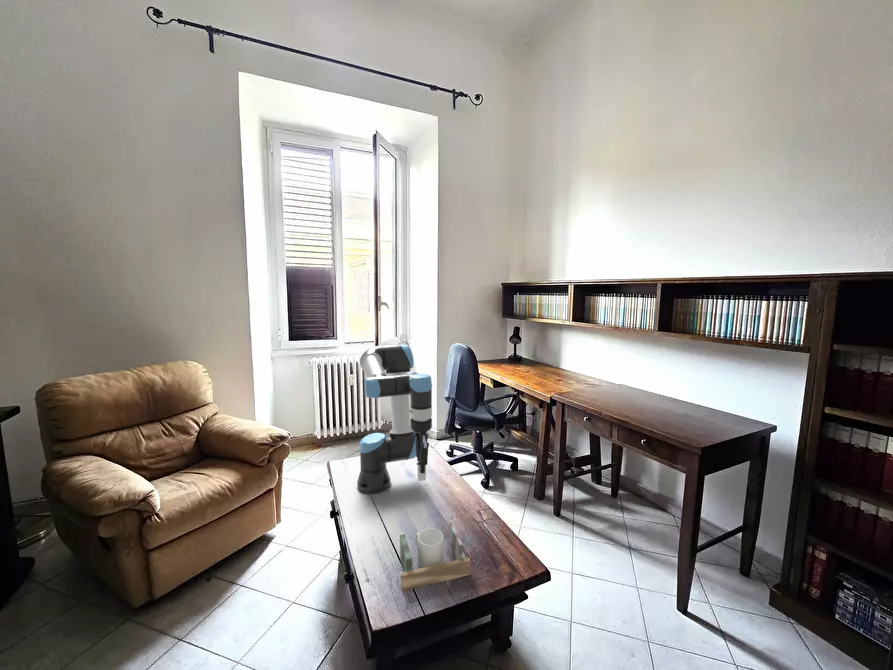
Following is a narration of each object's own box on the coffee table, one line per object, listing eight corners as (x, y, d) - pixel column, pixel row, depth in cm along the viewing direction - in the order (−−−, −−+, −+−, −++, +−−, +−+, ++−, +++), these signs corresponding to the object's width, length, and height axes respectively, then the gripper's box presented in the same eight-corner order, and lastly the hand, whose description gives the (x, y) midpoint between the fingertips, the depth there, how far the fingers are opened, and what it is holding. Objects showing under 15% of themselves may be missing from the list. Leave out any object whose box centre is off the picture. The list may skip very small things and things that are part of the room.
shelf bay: (395, 560, 122) (394, 533, 121) (459, 546, 129) (459, 520, 127) (402, 591, 110) (401, 561, 108) (473, 573, 116) (473, 545, 115)
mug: (406, 558, 123) (405, 530, 122) (425, 546, 129) (424, 519, 127) (429, 579, 114) (429, 549, 113) (448, 565, 120) (448, 536, 118)
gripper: (407, 412, 134) (408, 472, 138) (414, 425, 122) (415, 491, 125) (427, 410, 136) (427, 469, 140) (436, 423, 124) (436, 487, 127)
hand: (421, 479), depth 132 cm, fingers closed
